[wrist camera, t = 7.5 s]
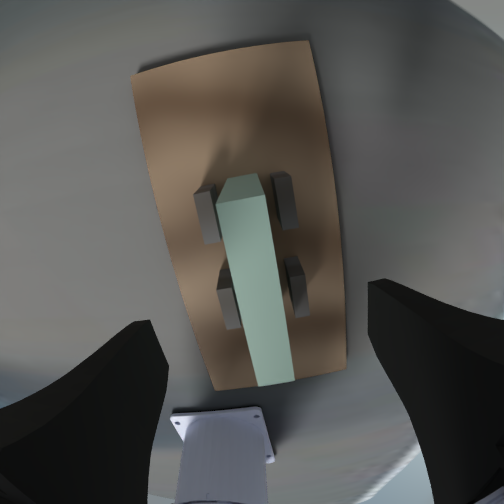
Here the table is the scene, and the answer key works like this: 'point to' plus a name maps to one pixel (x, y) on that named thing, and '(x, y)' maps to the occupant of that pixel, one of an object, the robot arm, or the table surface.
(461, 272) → the table surface
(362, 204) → the table surface
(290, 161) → the rail
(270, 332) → the door panel
